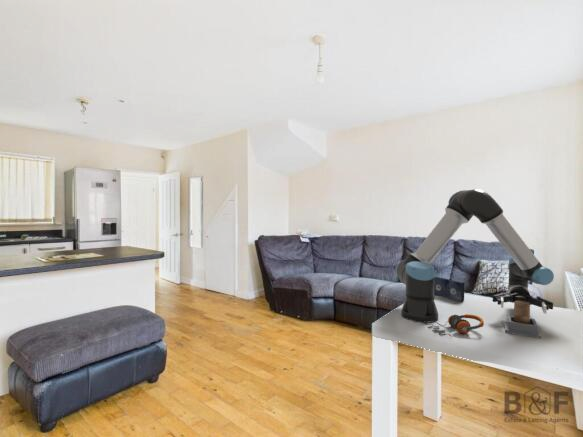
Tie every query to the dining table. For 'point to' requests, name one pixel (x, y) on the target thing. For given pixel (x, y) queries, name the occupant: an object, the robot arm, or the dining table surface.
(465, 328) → the headphones
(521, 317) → the walnut cylinder
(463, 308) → the dining table surface
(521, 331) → the grey square tray
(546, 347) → the dining table surface
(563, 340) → the dining table surface
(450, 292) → the vhs cassette tape
